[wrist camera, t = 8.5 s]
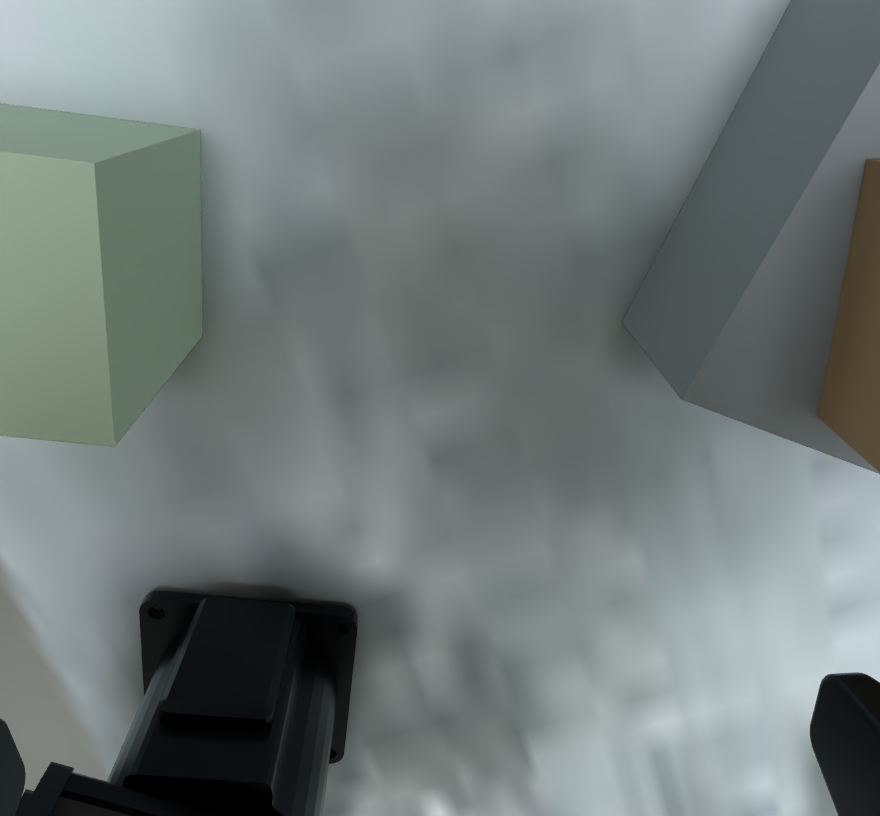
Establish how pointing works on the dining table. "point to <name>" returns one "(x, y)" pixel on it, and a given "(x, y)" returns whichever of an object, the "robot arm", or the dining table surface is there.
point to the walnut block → (858, 334)
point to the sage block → (94, 270)
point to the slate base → (771, 231)
